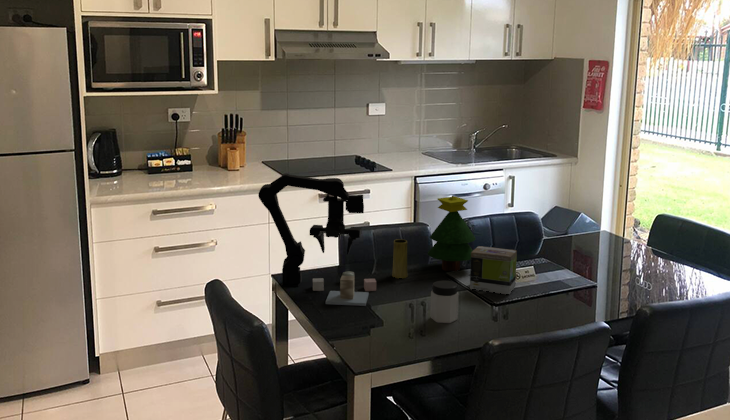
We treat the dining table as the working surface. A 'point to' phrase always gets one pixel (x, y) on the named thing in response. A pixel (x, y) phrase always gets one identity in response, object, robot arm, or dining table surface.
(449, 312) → the jar
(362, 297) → the blue board
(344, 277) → the birch block
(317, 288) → the off-white block
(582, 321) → the dining table surface
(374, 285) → the pink block
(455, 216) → the decorative tree
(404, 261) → the vase
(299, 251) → the robot arm
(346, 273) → the sage cylinder
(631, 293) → the dining table surface
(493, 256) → the tea box
